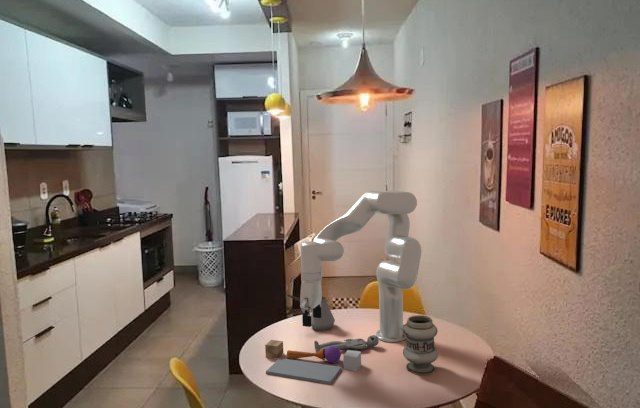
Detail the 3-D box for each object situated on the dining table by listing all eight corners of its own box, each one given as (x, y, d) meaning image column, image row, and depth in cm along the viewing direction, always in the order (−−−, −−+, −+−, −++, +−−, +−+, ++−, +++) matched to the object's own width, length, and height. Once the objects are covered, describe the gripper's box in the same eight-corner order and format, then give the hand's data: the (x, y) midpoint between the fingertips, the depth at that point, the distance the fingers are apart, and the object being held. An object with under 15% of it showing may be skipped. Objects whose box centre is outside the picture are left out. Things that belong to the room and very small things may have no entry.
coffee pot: (335, 322, 210) (334, 289, 209) (334, 331, 199) (333, 297, 197) (288, 322, 211) (287, 290, 210) (285, 332, 200) (283, 298, 198)
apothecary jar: (395, 367, 164) (395, 318, 162) (418, 357, 171) (418, 310, 169) (422, 380, 155) (422, 327, 153) (445, 369, 162) (445, 319, 160)
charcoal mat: (341, 369, 164) (341, 367, 164) (330, 384, 154) (330, 381, 153) (280, 360, 173) (279, 358, 172) (265, 373, 162) (265, 371, 162)
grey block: (361, 365, 167) (361, 351, 167) (357, 371, 163) (356, 357, 162) (348, 363, 169) (347, 349, 169) (343, 369, 164) (343, 355, 164)
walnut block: (283, 353, 179) (282, 341, 178) (277, 359, 174) (277, 346, 174) (271, 352, 180) (271, 339, 180) (265, 357, 176) (265, 344, 175)
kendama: (289, 345, 177) (341, 344, 173) (290, 361, 177) (342, 360, 172) (285, 348, 171) (338, 347, 167) (286, 365, 171) (339, 364, 166)
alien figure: (313, 337, 184) (376, 331, 186) (314, 349, 184) (376, 342, 186) (315, 345, 176) (380, 339, 178) (316, 358, 176) (381, 351, 178)
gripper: (311, 269, 178) (311, 313, 180) (292, 280, 162) (292, 328, 164) (329, 271, 175) (330, 315, 177) (312, 282, 159) (312, 331, 161)
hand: (312, 321), depth 170 cm, fingers open, 9 cm apart
